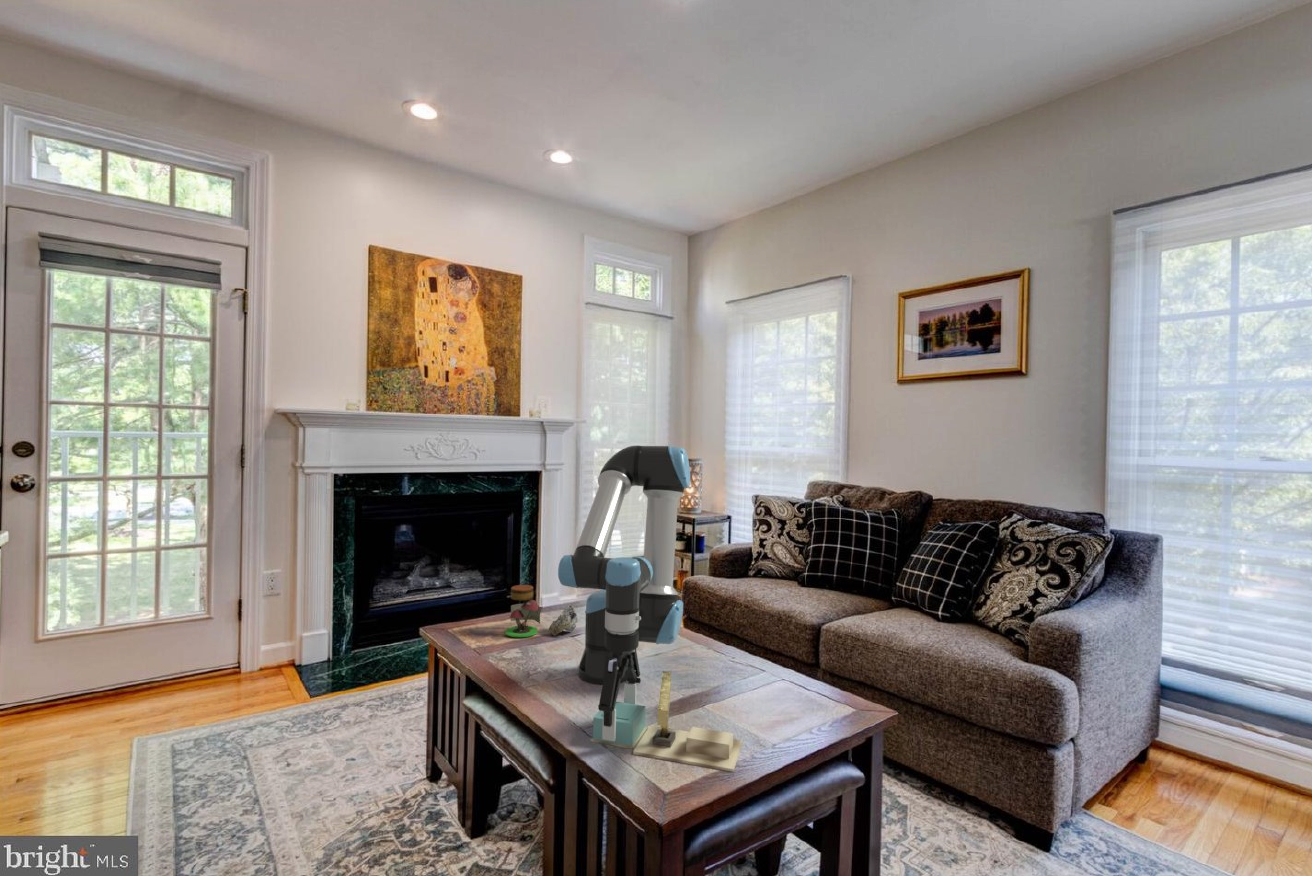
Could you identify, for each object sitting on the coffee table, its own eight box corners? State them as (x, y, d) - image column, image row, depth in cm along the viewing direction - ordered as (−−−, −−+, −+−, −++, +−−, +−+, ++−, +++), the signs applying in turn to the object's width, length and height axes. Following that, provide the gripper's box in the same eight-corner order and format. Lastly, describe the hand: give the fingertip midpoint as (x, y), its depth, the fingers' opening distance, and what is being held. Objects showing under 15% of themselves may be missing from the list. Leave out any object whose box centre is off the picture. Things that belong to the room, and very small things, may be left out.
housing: (633, 754, 126) (633, 737, 126) (650, 727, 138) (650, 712, 138) (733, 772, 120) (733, 754, 120) (742, 743, 132) (742, 727, 132)
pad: (590, 741, 131) (590, 740, 131) (606, 720, 141) (606, 719, 141) (633, 749, 128) (633, 748, 128) (647, 727, 138) (648, 726, 138)
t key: (666, 765, 121) (667, 710, 121) (656, 764, 121) (657, 710, 121) (670, 718, 141) (671, 671, 141) (661, 718, 141) (662, 671, 141)
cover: (593, 739, 132) (593, 716, 132) (608, 721, 140) (608, 699, 140) (632, 746, 129) (632, 723, 129) (645, 727, 138) (645, 705, 138)
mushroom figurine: (538, 638, 196) (539, 592, 196) (499, 637, 196) (500, 591, 196) (545, 627, 208) (546, 583, 208) (508, 626, 208) (509, 582, 208)
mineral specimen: (555, 618, 196) (541, 610, 204) (557, 642, 196) (544, 633, 204) (581, 609, 201) (567, 601, 209) (584, 633, 202) (569, 624, 210)
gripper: (618, 650, 122) (616, 756, 122) (654, 615, 145) (652, 704, 146) (583, 645, 124) (581, 749, 124) (624, 612, 148) (623, 699, 148)
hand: (619, 725), depth 135 cm, fingers open, 13 cm apart
